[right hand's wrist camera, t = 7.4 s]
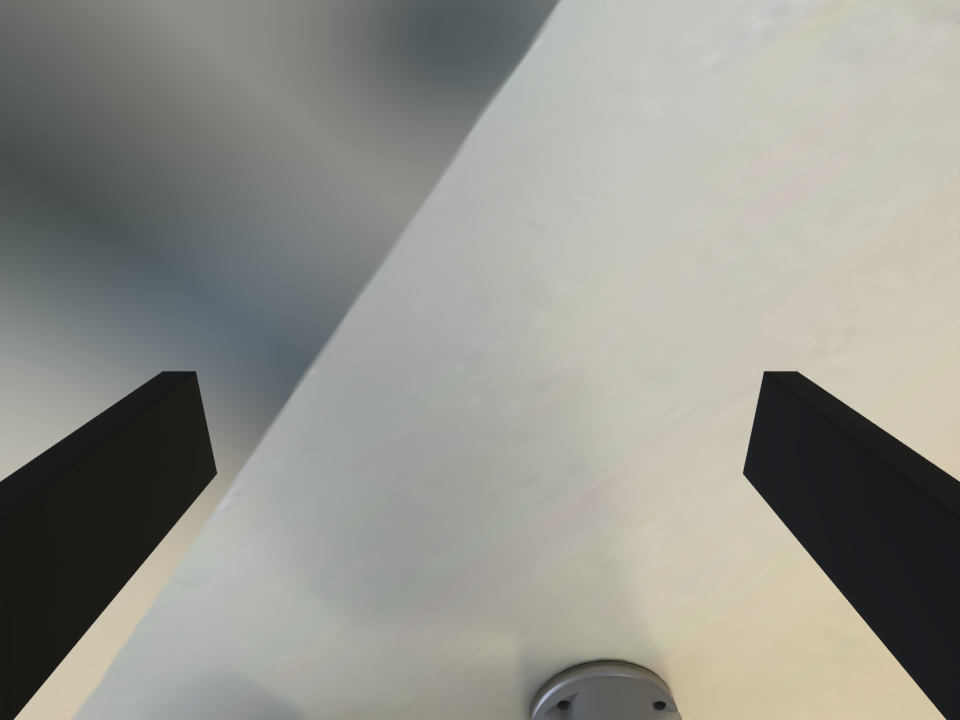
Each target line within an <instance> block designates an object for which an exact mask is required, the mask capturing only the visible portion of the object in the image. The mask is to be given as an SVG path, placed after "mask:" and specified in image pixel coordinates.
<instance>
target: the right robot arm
mask: <svg viewBox="0 0 960 720" xmlns="http://www.w3.org/2000/svg"><path fill="white" fill-rule="evenodd" d="M216 474H217V471H216V466H215V461H214V456H213V451H212V447H211V442H210V437H209V432H208V427H207V423H206V418H205V413H204V408H203V403H202V399H201V394H200V389H199V384H198V379H197V374H196V371H163V372H161V373H160V374H158V375H157V376H155V377H154V378H152V379H151V380H149V381H148V382H146V383H145V384H143V385H142V386H141V387H139V388H138V389H136V390H135V391H133V392H132V393H130V394H129V395H127V396H126V397H124V398H123V399H121V400H120V401H118V402H117V403H115V404H114V405H113V406H111V407H110V408H108V409H107V410H105V411H104V412H102V413H101V414H99V415H98V416H96V417H95V418H93V419H92V420H90V421H89V422H88V423H86V424H85V425H83V426H82V427H80V428H79V429H77V430H76V431H74V432H73V433H71V434H70V435H68V436H67V437H65V438H64V439H62V440H61V441H60V442H58V443H57V444H55V445H54V446H52V447H51V448H49V449H48V450H46V451H45V452H43V453H42V454H40V455H39V456H37V457H36V458H35V459H33V460H32V461H30V462H29V463H27V464H26V465H24V466H23V467H21V468H20V469H18V470H17V471H15V472H14V473H12V474H11V475H9V476H8V477H7V478H5V479H4V480H2V481H1V482H0V720H14V718H15V717H16V716H17V715H18V714H19V713H20V711H21V710H22V709H23V708H24V706H25V705H26V704H27V703H28V702H29V700H30V699H31V698H32V697H33V696H34V694H35V693H36V692H37V691H38V690H39V688H40V687H41V686H42V685H43V683H44V682H45V681H46V680H47V679H48V677H49V676H50V675H51V674H52V673H53V671H54V670H55V669H56V668H57V667H58V665H59V664H60V663H61V662H62V660H63V659H64V658H65V657H66V656H67V655H68V653H69V652H70V651H71V650H72V648H73V647H74V646H75V645H76V644H77V642H78V641H79V640H80V639H81V638H82V636H83V635H84V634H85V633H86V632H87V630H88V629H89V628H90V627H91V625H92V624H93V623H94V622H95V621H96V619H97V618H98V617H99V616H100V615H101V613H102V612H103V611H104V610H105V609H106V607H107V606H108V605H109V604H110V602H111V601H112V600H113V599H114V598H115V596H116V595H117V594H118V593H119V592H120V590H121V589H122V588H123V587H124V586H125V584H126V583H127V582H128V581H129V580H130V578H131V577H132V576H133V575H134V573H135V572H136V571H137V570H138V569H139V567H140V566H141V565H142V564H143V563H144V561H145V560H146V559H147V558H148V557H149V555H150V554H151V553H152V552H153V551H154V549H155V548H156V547H157V546H158V544H159V543H160V542H161V541H162V540H163V538H164V537H165V536H166V535H167V534H168V532H169V531H170V530H171V529H172V527H173V526H174V525H175V524H176V523H177V521H178V520H179V519H180V518H181V517H182V515H183V514H184V513H185V512H186V511H187V509H188V508H189V507H190V506H191V505H192V503H193V502H194V501H195V500H196V499H197V497H198V496H199V495H200V494H201V492H202V491H203V490H204V489H205V488H206V486H207V485H208V484H209V483H210V482H211V480H212V479H213V478H214V477H215V475H216ZM743 474H744V476H745V477H746V478H747V479H748V480H749V482H750V483H751V484H752V485H753V486H754V488H755V489H756V490H757V491H758V493H759V494H760V495H761V496H762V497H763V499H764V500H765V501H766V502H767V503H768V505H769V506H770V507H771V508H772V509H773V511H774V512H775V513H776V514H777V515H778V517H779V518H780V519H781V520H782V522H783V523H784V524H785V525H786V526H787V528H788V529H789V530H790V531H791V532H792V534H793V535H794V536H795V537H796V538H797V540H798V541H799V542H800V543H801V544H802V546H803V547H804V548H805V549H806V551H807V552H808V553H809V554H810V555H811V557H812V558H813V559H814V560H815V561H816V563H817V564H818V565H819V566H820V567H821V569H822V570H823V571H824V572H825V574H826V575H827V576H828V577H829V578H830V580H831V581H832V582H833V583H834V584H835V586H836V587H837V588H838V589H839V590H840V592H841V593H842V594H843V595H844V596H845V598H846V599H847V600H848V601H849V603H850V604H851V605H852V606H853V607H854V609H855V610H856V611H857V612H858V613H859V615H860V616H861V617H862V618H863V619H864V621H865V622H866V623H867V624H868V625H869V627H870V628H871V629H872V630H873V632H874V633H875V634H876V635H877V636H878V638H879V639H880V640H881V641H882V642H883V644H884V645H885V646H886V647H887V648H888V650H889V651H890V652H891V653H892V655H893V656H894V657H895V658H896V659H897V661H898V662H899V663H900V664H901V665H902V667H903V668H904V669H905V670H906V671H907V673H908V674H909V675H910V676H911V677H912V679H913V680H914V681H915V682H916V684H917V685H918V686H919V687H920V688H921V690H922V691H923V692H924V693H925V694H926V696H927V697H928V698H929V699H930V700H931V702H932V703H933V704H934V705H935V706H936V708H937V709H938V710H939V711H940V713H941V714H942V715H943V716H944V717H945V719H946V720H960V482H959V481H958V480H956V479H955V478H953V477H952V476H951V475H949V474H948V473H946V472H945V471H943V470H942V469H940V468H939V467H937V466H936V465H934V464H933V463H931V462H930V461H928V460H927V459H925V458H924V457H923V456H921V455H920V454H918V453H917V452H915V451H914V450H912V449H911V448H909V447H908V446H906V445H905V444H903V443H902V442H900V441H899V440H898V439H896V438H895V437H893V436H892V435H890V434H889V433H887V432H886V431H884V430H883V429H881V428H880V427H878V426H877V425H875V424H874V423H872V422H871V421H870V420H868V419H867V418H865V417H864V416H862V415H861V414H859V413H858V412H856V411H855V410H853V409H852V408H850V407H849V406H847V405H846V404H845V403H843V402H842V401H840V400H839V399H837V398H836V397H834V396H833V395H831V394H830V393H828V392H827V391H825V390H824V389H822V388H821V387H820V386H818V385H817V384H815V383H814V382H812V381H811V380H809V379H808V378H806V377H805V376H803V375H802V374H800V373H799V372H797V371H764V374H763V379H762V384H761V389H760V394H759V399H758V403H757V408H756V413H755V418H754V423H753V427H752V432H751V437H750V442H749V447H748V451H747V456H746V461H745V466H744V471H743ZM530 720H682V718H681V715H680V713H678V710H677V707H676V704H675V701H674V699H673V696H672V693H671V691H670V689H669V688H668V686H667V685H666V684H665V683H664V682H663V681H662V680H661V679H660V678H659V677H658V676H656V675H655V674H654V673H652V672H650V671H648V670H646V669H644V668H642V667H639V666H636V665H632V664H628V663H623V662H610V661H607V662H593V663H588V664H583V665H579V666H576V667H573V668H570V669H568V670H566V671H564V672H562V673H560V674H558V675H556V676H555V677H553V678H552V679H551V680H549V681H548V682H547V683H546V684H545V685H544V686H543V687H542V688H541V689H540V690H539V692H538V693H537V694H536V696H535V698H534V700H533V702H532V705H531V709H530Z"/></svg>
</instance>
